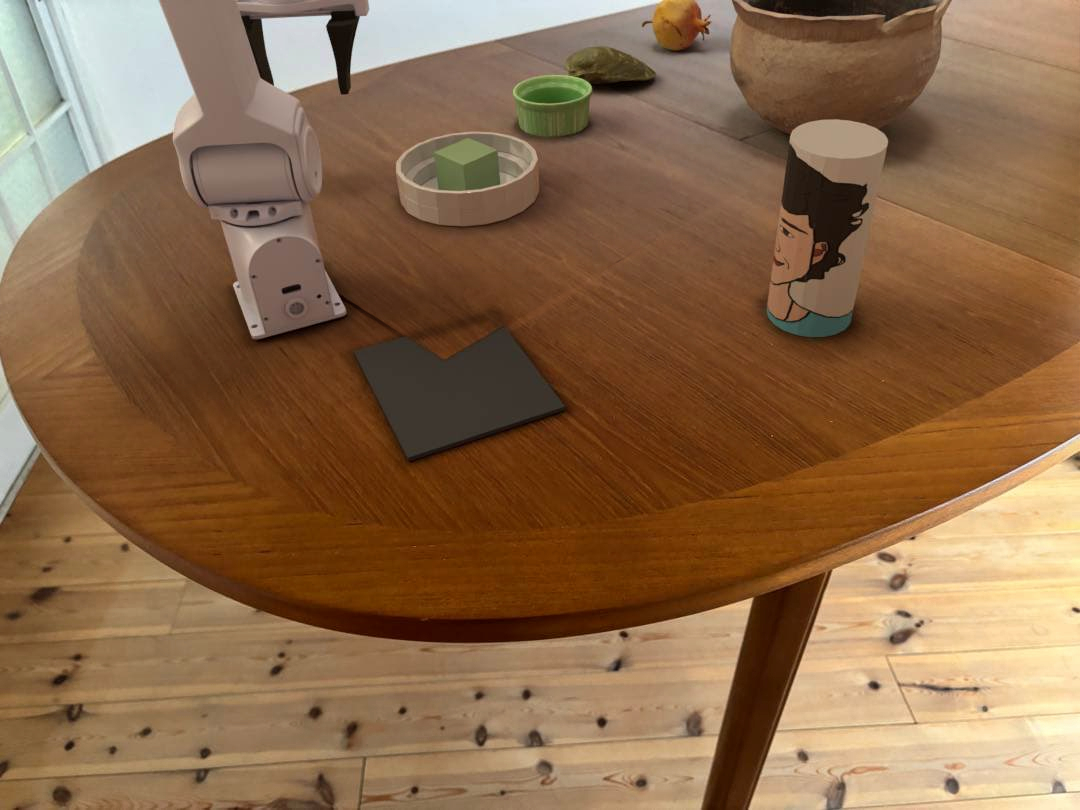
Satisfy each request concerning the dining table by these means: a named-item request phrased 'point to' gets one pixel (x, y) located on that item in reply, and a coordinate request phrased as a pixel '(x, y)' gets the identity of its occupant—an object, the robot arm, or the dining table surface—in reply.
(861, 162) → the cup
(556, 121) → the ramekin
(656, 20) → the fruit
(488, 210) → the basin
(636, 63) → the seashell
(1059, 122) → the dining table surface
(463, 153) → the green block
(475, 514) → the dining table surface
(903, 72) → the ceramic bowl
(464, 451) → the dining table surface
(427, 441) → the mat
